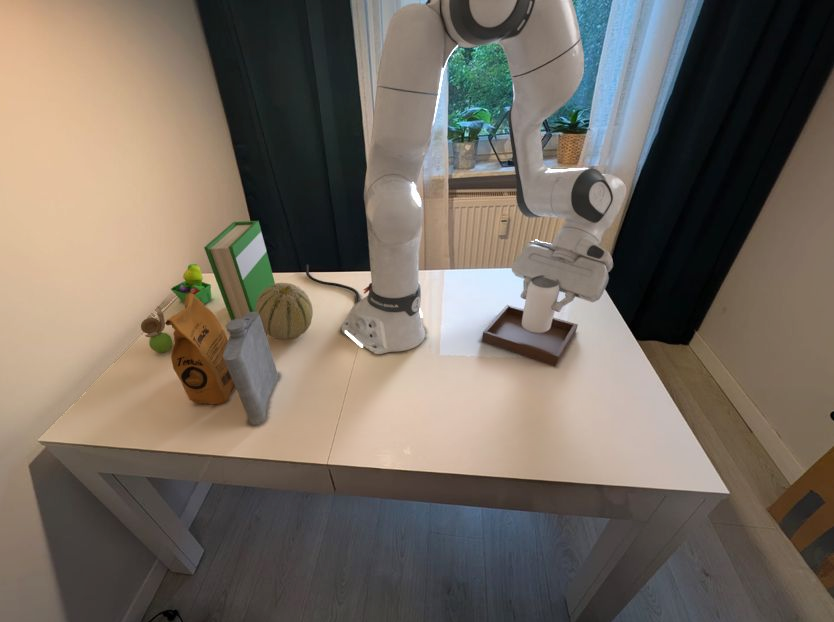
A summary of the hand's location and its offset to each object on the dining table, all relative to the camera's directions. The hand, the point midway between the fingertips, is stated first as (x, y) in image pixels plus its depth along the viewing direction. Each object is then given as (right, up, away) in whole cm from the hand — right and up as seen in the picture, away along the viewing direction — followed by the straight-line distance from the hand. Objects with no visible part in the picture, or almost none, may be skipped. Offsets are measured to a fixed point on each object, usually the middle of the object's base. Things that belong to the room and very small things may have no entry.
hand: (539, 304), depth 86 cm
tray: (0, -7, +7) cm, 10 cm away
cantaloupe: (-60, -6, +17) cm, 63 cm away
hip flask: (-62, -21, -2) cm, 66 cm away
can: (+1, -5, +4) cm, 7 cm away
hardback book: (-72, +1, +28) cm, 78 cm away
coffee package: (-74, -19, +2) cm, 77 cm away
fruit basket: (-94, +6, +37) cm, 101 cm away
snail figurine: (-93, -11, +16) cm, 95 cm away
